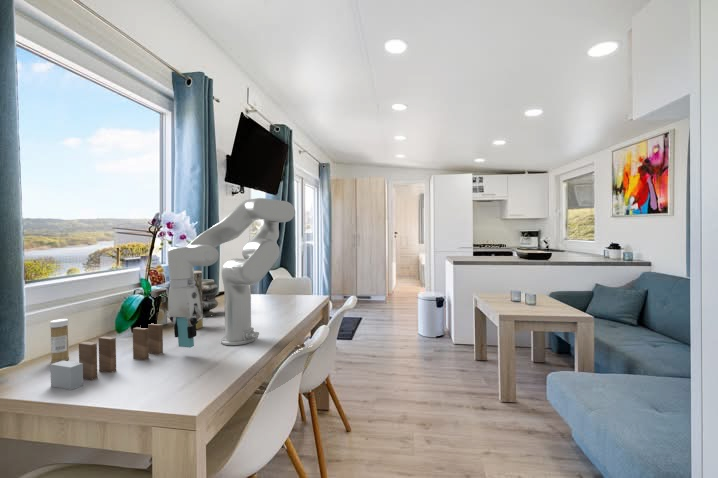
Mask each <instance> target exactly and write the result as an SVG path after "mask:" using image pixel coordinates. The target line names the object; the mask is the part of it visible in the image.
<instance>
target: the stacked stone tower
mask: <svg viewBox="0 0 718 478" xmlns="http://www.w3.org/2000/svg"><path fill="white" fill-rule="evenodd" d="M218 288H219V287H218V285H217V284H216V282H215V280H214V279H202V309H203V318H206V317H205V316H210V317H212V316H211V315H214V314H215V315H216V314H217V313H216V312H214V311H211V310H214V309H215V308H217V307H218V304H219V302H218V301H217V299H216V291H217V290H218ZM215 315H214V316H215Z"/></svg>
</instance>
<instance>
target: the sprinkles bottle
mask: <svg viewBox="0 0 718 478" xmlns="http://www.w3.org/2000/svg"><path fill="white" fill-rule="evenodd" d="M68 326H69V319H68V318H59V319H53V320H50V321H49V327H50V352H51V353H50V354H51V360H50V362H51V364H53V363H56V362H59V361H69V359H70V356H69V349H70V348H69V346H70V345H69V329H68Z"/></svg>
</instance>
